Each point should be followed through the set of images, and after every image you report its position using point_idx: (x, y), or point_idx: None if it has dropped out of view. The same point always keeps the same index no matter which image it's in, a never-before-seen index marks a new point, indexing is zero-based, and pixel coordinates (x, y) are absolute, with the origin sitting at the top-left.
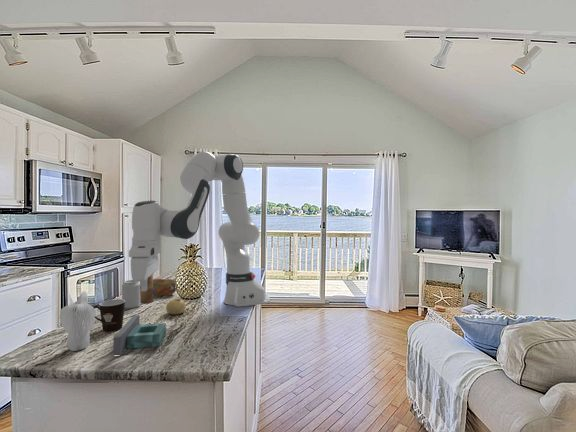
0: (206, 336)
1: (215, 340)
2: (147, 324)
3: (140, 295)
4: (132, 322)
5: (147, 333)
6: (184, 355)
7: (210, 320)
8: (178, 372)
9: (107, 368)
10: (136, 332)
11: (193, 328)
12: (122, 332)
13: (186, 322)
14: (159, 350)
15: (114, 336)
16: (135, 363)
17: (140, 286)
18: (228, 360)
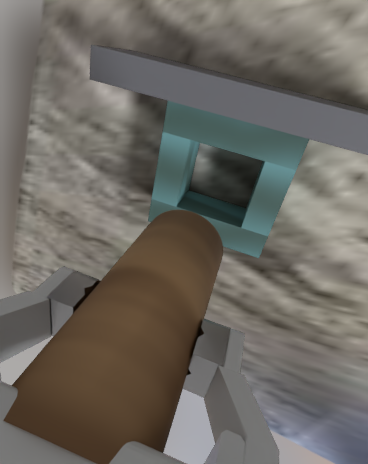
0: None
1: None
2: (285, 190)
3: (149, 236)
4: (270, 126)
5: (170, 183)
6: (89, 250)
7: (315, 372)
8: (16, 222)
9: (54, 42)
10: (199, 141)
11: (269, 315)
12: (141, 83)
13: (349, 316)
14: (136, 199)
15: (101, 48)
16: (70, 130)
17: (111, 283)
18: None
